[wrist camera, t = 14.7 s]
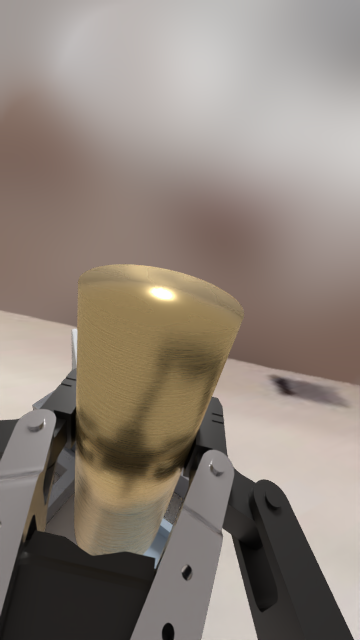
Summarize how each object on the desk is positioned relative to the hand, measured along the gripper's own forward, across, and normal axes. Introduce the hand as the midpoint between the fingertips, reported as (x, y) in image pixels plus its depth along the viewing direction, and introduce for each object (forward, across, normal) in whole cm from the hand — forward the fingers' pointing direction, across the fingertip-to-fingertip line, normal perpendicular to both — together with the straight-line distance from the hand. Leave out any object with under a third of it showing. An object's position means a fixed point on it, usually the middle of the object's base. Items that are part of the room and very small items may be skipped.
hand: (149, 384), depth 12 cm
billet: (-3, 0, +8) cm, 8 cm away
